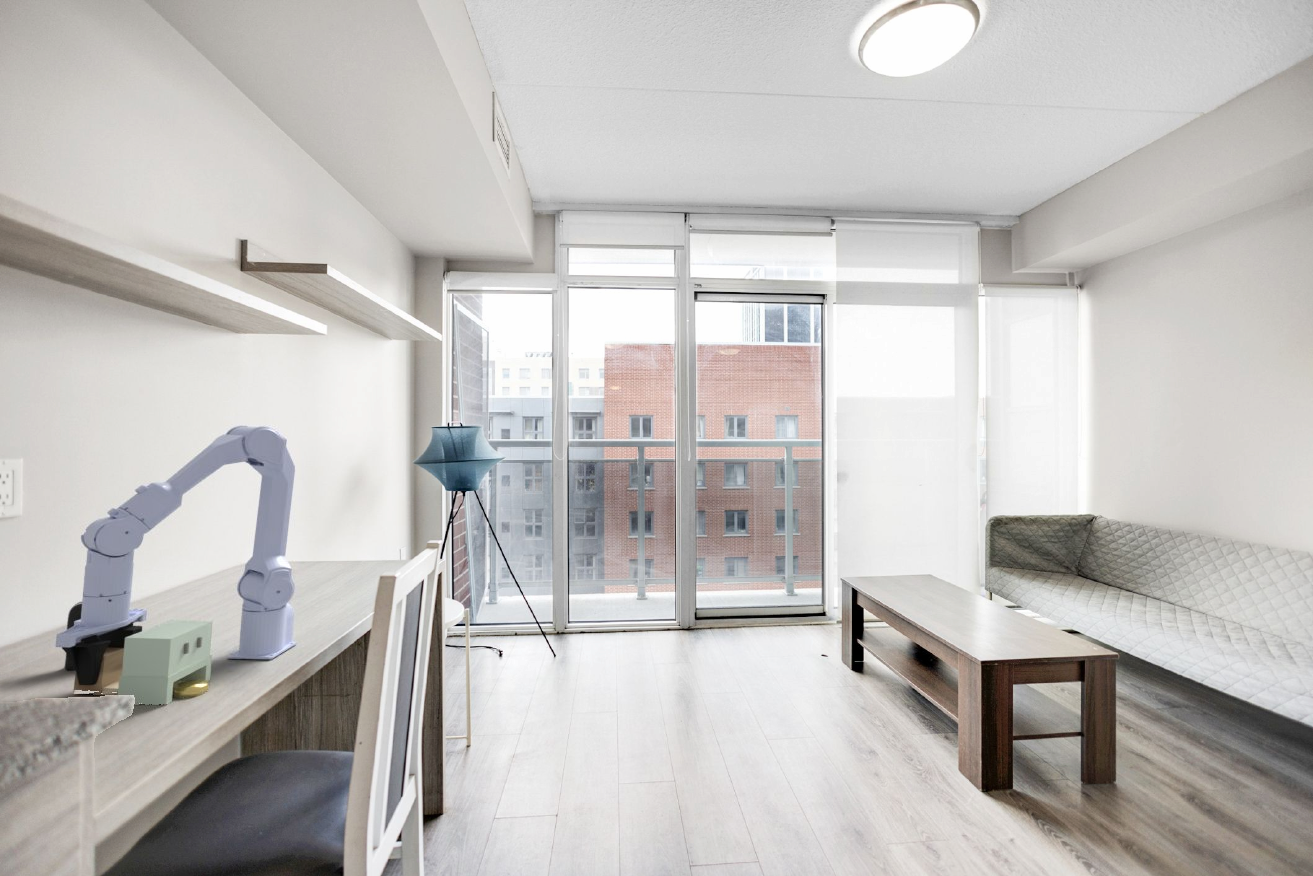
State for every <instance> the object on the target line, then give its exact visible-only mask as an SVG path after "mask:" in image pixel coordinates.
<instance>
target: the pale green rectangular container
mask: <svg viewBox="0 0 1313 876" xmlns="http://www.w3.org/2000/svg"><path fill="white" fill-rule="evenodd" d="M212 631H213V621H212V620H211V621H207V620H179V619H178V620H175V619H174V620H172V619H171V620H169V621H165V622H163V623H161V624H158V625H155V626H153V627H150V628H147V629H145V630H142V632H139V633H136V634H134V635H131V636H128V637H126V638H125V644H124V656H123V668H122V676H119V686H118V695H134V697H135V704H134V705H133V706H137V705H138V706H139V703H140V704H141V703H142V704H145V705H144V706H164V705H163V704H167V703H169V704H171V703H172V702H173V695H174V694H173V682H175V681H189V680H196V679H204V680H208V681H211V671H212V662H213V661H212V659H213V658H212V657H213V655H211V646H212V633H213V632H212ZM118 695H117V696H118ZM170 702H171V703H170ZM149 704H150V705H149ZM151 704H152V705H151ZM159 704H161V705H159ZM167 705H168V704H167Z"/></svg>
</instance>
